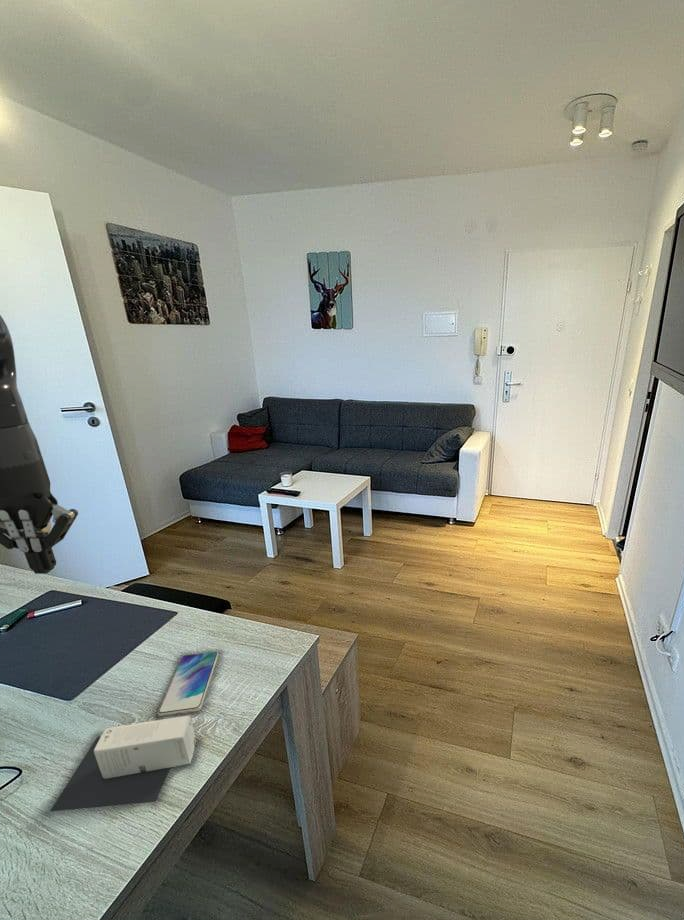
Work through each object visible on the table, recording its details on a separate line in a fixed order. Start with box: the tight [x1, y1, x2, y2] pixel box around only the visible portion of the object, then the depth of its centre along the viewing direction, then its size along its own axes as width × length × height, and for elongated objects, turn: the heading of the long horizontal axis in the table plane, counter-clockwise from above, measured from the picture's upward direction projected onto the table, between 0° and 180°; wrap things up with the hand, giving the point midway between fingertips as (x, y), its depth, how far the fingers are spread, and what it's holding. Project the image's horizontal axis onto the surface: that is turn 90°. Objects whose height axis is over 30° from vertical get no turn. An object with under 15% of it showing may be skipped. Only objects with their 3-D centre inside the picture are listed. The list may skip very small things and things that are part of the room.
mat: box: [49, 735, 171, 812], centre depth 66 cm, size 14×12×1 cm
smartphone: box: [157, 651, 219, 717], centre depth 82 cm, size 7×1×15 cm
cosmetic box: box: [94, 715, 197, 779], centre depth 66 cm, size 6×4×12 cm
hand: (45, 570), depth 64 cm, fingers closed
